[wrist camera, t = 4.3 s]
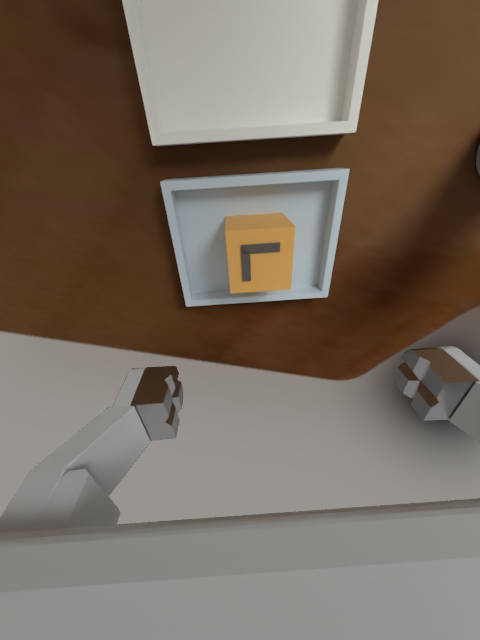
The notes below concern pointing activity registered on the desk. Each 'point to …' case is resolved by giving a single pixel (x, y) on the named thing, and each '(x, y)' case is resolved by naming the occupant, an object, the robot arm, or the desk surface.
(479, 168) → the travel mug
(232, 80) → the tray white
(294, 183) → the tray bluegrey
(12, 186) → the desk surface
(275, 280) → the letter cube
